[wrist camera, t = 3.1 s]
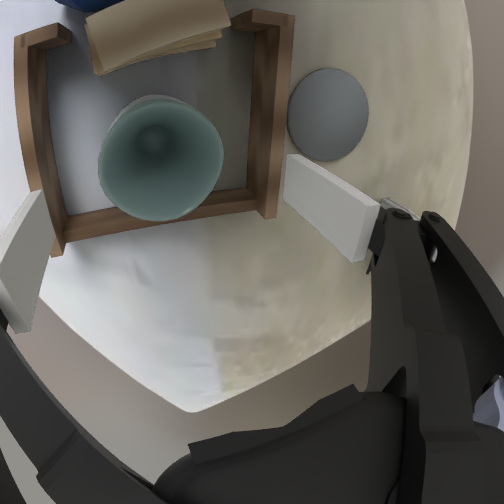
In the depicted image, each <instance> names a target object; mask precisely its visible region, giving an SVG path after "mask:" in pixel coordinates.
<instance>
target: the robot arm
mask: <svg viewBox="0 0 504 504" xmlns="http://www.w3.org/2000/svg"><path fill="white" fill-rule="evenodd" d="M283 200H285V201H286V202H287V203H288V204H289V205H290V206H291V207H292V208H293V209H295V210H296V211H297V212H298V213H299V214H300V215H301V216H302V217H303V218H304V219H306V220H307V221H308V222H309V223H310V224H311V225H312V226H313V227H314V228H315V229H316V230H317V231H318V232H320V233H321V234H322V235H323V236H324V237H325V238H326V239H327V240H328V241H329V242H330V243H331V244H332V245H333V246H334V247H335V248H336V249H337V250H338V251H339V252H341V253H342V254H343V255H344V256H345V257H346V258H347V259H348V260H349V261H350V262H351V263H355V262H359V261H362V260H364V259H365V256H366V253H367V250H368V248H369V249H370V250H371V251H372V252H373V255H372V258H371V261H370V264H369V267H368V270H367V273H366V274H369V272H370V271H371V286H372V315H371V347H370V364H369V377H368V384H367V387H366V390H365V392H359V391H358V390H357V389H356V387H355V386H354V384H352V385H350V386H348V387H345V388H343V389H341V390H339V391H337V392H335V393H333V394H331V395H329V396H327V397H324V398H322V399H320V400H318V401H317V402H316V403H315V404H313V405H312V406H311V407H310V408H308V409H307V410H306V411H304V412H303V413H302V414H301V415H299V416H298V417H297V418H295V419H294V420H292V421H291V422H290V423H288V424H287V425H285V426H283V427H279V428H271V429H262V430H251V431H239V432H231V433H228V434H224V435H221V436H217V437H214V438H210V439H206V440H202V441H198V442H194V443H190V444H188V446H189V449H190V452H191V453H189V454H187V455H185V456H184V457H182V458H180V459H179V460H177V461H176V462H175V463H173V464H172V465H171V466H170V467H168V468H167V469H166V470H165V471H164V472H163V473H162V475H161V476H160V477H159V478H158V480H157V481H156V483H155V484H154V485H153V484H152V483H151V482H149V481H148V480H146V479H145V478H143V477H142V476H141V475H139V474H138V473H136V472H135V471H134V470H132V469H130V468H129V467H128V466H127V465H125V464H124V463H123V462H122V461H120V460H119V459H118V458H117V457H115V456H114V455H113V454H112V453H111V452H110V451H108V450H107V449H106V448H105V447H104V446H103V445H102V444H100V443H99V442H98V441H97V440H96V439H95V438H94V437H93V436H92V435H91V434H90V433H88V432H87V431H86V429H84V428H83V427H82V426H81V425H80V424H79V423H78V422H77V421H76V420H75V419H74V417H73V416H72V415H71V414H70V413H69V412H68V411H67V410H66V409H65V408H64V407H63V406H62V404H61V403H59V401H58V400H57V399H56V398H55V397H54V395H53V394H52V393H51V392H50V391H49V390H48V388H47V387H46V386H45V385H44V383H43V382H42V381H41V380H40V378H39V377H38V376H37V375H36V373H35V372H34V371H33V369H32V368H31V366H30V365H29V364H28V362H27V361H26V360H25V358H24V357H23V355H22V354H21V353H20V351H19V350H18V348H17V347H16V345H15V344H14V342H13V341H12V339H11V337H10V336H9V335H8V333H7V332H6V329H7V326H8V323H9V325H10V326H11V328H12V329H13V331H14V332H15V334H18V333H25V332H31V328H32V323H33V317H34V313H35V308H36V303H37V299H38V295H39V291H40V287H41V283H42V279H43V276H44V272H45V269H46V265H47V262H48V259H49V255H50V252H51V249H52V246H53V243H54V240H55V237H56V235H55V232H54V229H53V226H52V222H51V219H50V215H49V212H48V208H47V204H46V200H45V196H44V192H43V189H40V190H36V191H33V192H30V193H29V195H28V196H27V197H26V199H25V200H24V202H23V203H22V205H21V206H20V208H19V209H18V211H17V212H16V214H15V215H14V217H13V218H12V220H11V221H10V223H9V225H8V226H7V228H6V230H5V231H4V233H3V235H2V236H1V238H0V416H1V417H2V419H3V421H4V422H5V424H6V425H7V427H8V429H9V430H10V432H11V433H12V435H13V436H14V438H15V439H16V441H17V442H18V444H19V445H20V447H21V448H22V449H23V451H24V452H25V454H26V455H27V456H28V458H29V459H30V460H31V462H32V463H33V464H34V466H35V467H36V468H37V470H38V474H37V476H36V478H37V480H38V482H39V484H40V485H41V487H42V488H43V489H44V491H45V492H46V493H47V494H48V495H49V496H50V497H51V499H52V500H53V501H54V502H55V503H56V504H504V297H503V296H502V294H501V293H500V291H499V290H498V288H497V287H496V285H495V284H494V282H493V281H492V279H491V278H490V276H489V275H488V274H487V272H486V271H485V269H484V268H483V267H482V265H481V264H480V263H479V261H478V260H477V259H476V257H475V256H474V255H473V253H472V252H471V251H470V249H469V248H468V247H467V246H466V244H465V243H464V242H463V241H462V239H461V238H460V237H459V236H458V235H457V233H456V232H455V231H454V230H453V229H452V227H451V226H450V225H449V224H448V223H447V222H446V220H445V219H443V218H442V217H441V216H440V215H439V214H437V213H435V212H429V211H424V212H423V213H422V216H421V219H420V221H419V220H414V219H413V217H412V216H411V215H410V214H409V213H407V212H406V211H404V210H402V209H399V208H388V209H387V210H386V209H384V208H383V207H381V206H380V204H379V203H377V202H376V201H374V200H373V199H371V198H370V197H368V196H367V195H365V194H364V193H362V192H361V191H359V190H358V189H356V188H355V187H353V186H352V185H350V184H348V183H347V182H345V181H344V180H342V179H340V178H339V177H337V176H335V175H334V174H332V173H331V172H329V171H327V170H325V169H324V168H322V167H320V166H319V165H317V164H315V163H314V162H312V161H310V160H308V159H307V158H305V157H303V156H301V155H299V154H288V155H287V161H286V171H285V180H284V190H283ZM436 249H437V257H436V259H435V262H434V261H433V260H432V258H433V256H434V253H435V251H436ZM499 375H500V376H501V377H500V378H499ZM0 504H26V502H25V500H24V498H23V496H22V495H21V493H20V491H19V489H18V487H17V485H16V483H15V481H14V479H13V477H12V475H11V472H10V470H9V468H8V465H7V463H6V461H5V459H4V456H3V454H2V451H1V449H0Z"/></svg>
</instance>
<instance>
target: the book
mask: <svg viewBox="0 0 504 504" xmlns="http://www.w3.org/2000/svg"><path fill="white" fill-rule="evenodd" d="M55 1H56V2H58V3H60V4H63V5H66V6H69V7H71V8H74V9H77V10H79V11H82V12H98V11H101V10H104V9H106V8H108V7H110V6H113V5H115V4H117V3H120V2H122V1H125V0H55Z"/></svg>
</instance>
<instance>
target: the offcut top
mask: <svg viewBox="0 0 504 504" xmlns="http://www.w3.org/2000/svg"><path fill="white" fill-rule="evenodd" d="M85 19H86V22H87V25H88V28H89V30H90V33H91V36H92V39H93V41H94V44H95V47H96V50H97V52H98V55H99V57H100V60H101V63H102V65H103V68H104V70H105V71H108V72H109V71H111V70H113V69H115V68H117V67H119V66H121V65H123V64H126V63H128V62H130V61H132V60H134V59H137V58H139V57H142V56H144V55H146V54H149V53H151V52H154V51H156V50H159V49H162V48H164V47H167V46H170V45H173V44H176V43H179V42H182V41H185V40H188V39H191V38H194V37H197V36H201V35H204V34H208V33H211V32H215V31H219V30H222V29H224V28H226V27H229V26H231V22H230V19H229V16H228V13H227V10H226V7H225V3H224V0H125V1H122V2H120V3H117V4H115V5H113V6H110V7H108V8H106V9H104V10H101V11H99V12H97V13H95V14H93V15H91V16H89V17H87V18H85Z"/></svg>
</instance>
